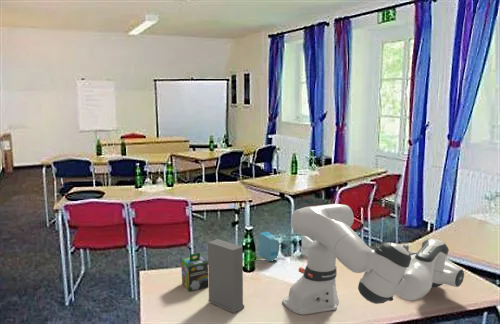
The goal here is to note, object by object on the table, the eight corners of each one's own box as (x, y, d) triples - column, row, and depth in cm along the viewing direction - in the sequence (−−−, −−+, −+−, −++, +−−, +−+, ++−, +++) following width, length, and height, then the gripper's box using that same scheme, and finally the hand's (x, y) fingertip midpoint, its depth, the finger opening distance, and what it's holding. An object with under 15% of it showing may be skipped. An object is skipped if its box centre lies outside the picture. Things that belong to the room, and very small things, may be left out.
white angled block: (295, 246, 243) (303, 233, 240) (310, 258, 240) (319, 245, 237) (292, 248, 240) (300, 235, 237) (308, 260, 237) (316, 247, 234)
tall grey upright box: (244, 308, 182) (244, 246, 177) (233, 313, 177) (233, 250, 173) (219, 297, 191) (218, 238, 187) (208, 302, 186) (207, 242, 182)
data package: (278, 261, 230) (278, 237, 228) (270, 262, 228) (270, 239, 226) (266, 253, 240) (266, 230, 238) (258, 254, 238) (258, 232, 236)
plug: (404, 276, 208) (406, 248, 206) (396, 272, 213) (397, 245, 211) (412, 274, 211) (414, 246, 209) (404, 270, 215) (405, 243, 213)
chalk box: (200, 279, 208) (200, 247, 206) (209, 287, 200) (208, 254, 198) (181, 283, 204) (180, 251, 201) (188, 291, 196) (188, 258, 193)
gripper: (410, 276, 195) (386, 265, 207) (444, 267, 204) (419, 257, 216) (411, 262, 194) (386, 252, 206) (445, 254, 203) (420, 244, 215)
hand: (403, 254), depth 211 cm, fingers open, 8 cm apart
